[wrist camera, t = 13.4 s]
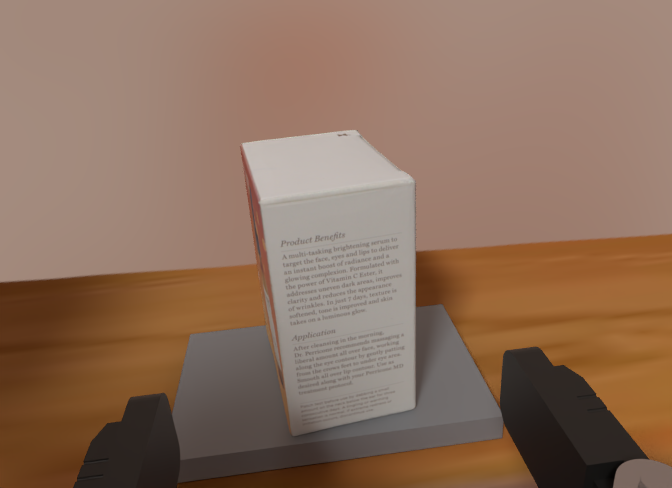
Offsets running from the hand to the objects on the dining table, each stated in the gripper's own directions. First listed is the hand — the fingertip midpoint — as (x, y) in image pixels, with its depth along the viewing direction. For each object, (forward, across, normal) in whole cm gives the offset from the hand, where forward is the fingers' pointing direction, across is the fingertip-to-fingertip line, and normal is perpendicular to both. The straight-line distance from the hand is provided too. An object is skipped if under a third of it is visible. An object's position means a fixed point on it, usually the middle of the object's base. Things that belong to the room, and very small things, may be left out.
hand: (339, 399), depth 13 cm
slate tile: (+11, 0, +9) cm, 14 cm away
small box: (+11, 0, +8) cm, 14 cm away
